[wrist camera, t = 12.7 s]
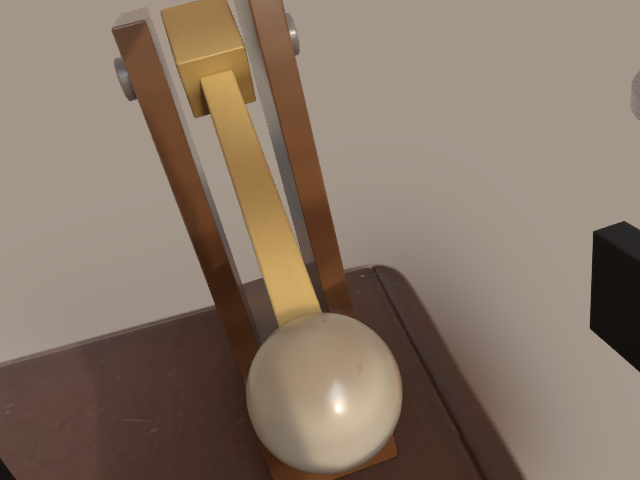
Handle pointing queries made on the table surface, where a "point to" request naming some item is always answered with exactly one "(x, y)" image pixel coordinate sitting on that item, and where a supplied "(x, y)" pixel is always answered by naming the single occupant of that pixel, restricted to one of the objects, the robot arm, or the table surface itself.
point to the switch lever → (285, 279)
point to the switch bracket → (195, 197)
